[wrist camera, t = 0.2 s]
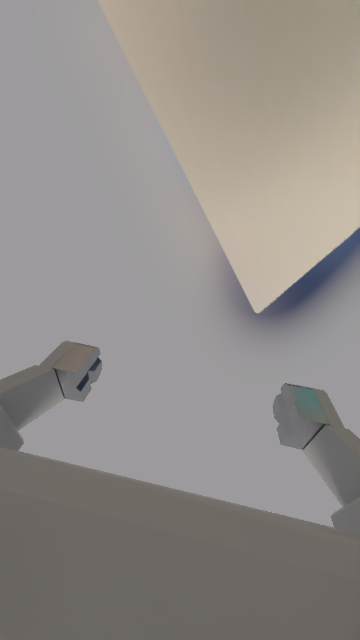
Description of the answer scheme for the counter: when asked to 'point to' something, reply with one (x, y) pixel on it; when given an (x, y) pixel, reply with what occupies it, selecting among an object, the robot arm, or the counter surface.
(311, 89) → the counter surface
